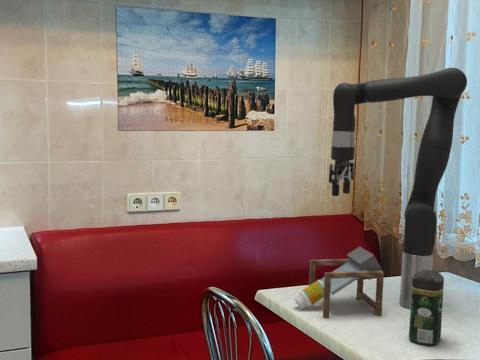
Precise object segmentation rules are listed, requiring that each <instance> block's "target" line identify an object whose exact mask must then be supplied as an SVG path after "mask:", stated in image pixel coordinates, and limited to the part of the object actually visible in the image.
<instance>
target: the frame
mask: <svg viewBox="0 0 480 360" xmlns="http://www.w3.org/2000/svg"><path fill="white" fill-rule="evenodd" d="M348 261H349V258H330V259H329V258H327V259H322V258H321V259H309V274H308V286H309V285H311V284H312V283H314V282H316V266H342V265H344V264H345V263H347V262H348ZM384 274H385V272H384V271H383V270H382V271H355V272H333V271H325V272H324V298H323V302H322V303H323V305H322V317H323V319H330V313H331V312H330V307H331V293H330V291H331V279H333V278H359V279H357V280H356V297H355V299H356V300H357V301H363V302H364V303H366V304H367V306H369V307H370V308H372V310H374V315H375V316H376V317H382V312H383V299H384V297H383V296H384V295H383V293H384V279H385V278H384V277H385V275H384ZM370 277H373V278H376V283H375V284H376V286H375V300H374V299H372V298H371V297H370V296H368V295H367V294H366V293H365V292H364V279H367V278H370Z"/></svg>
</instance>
